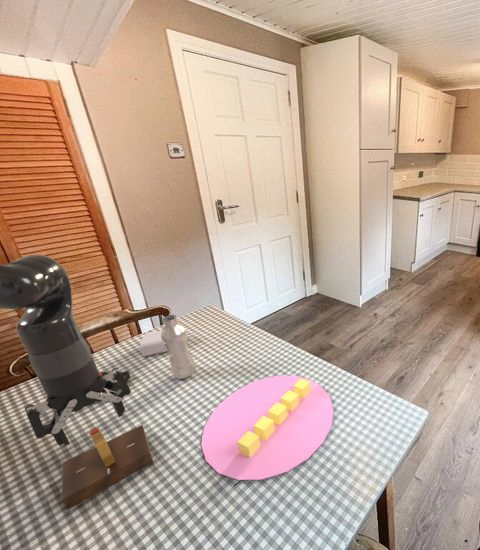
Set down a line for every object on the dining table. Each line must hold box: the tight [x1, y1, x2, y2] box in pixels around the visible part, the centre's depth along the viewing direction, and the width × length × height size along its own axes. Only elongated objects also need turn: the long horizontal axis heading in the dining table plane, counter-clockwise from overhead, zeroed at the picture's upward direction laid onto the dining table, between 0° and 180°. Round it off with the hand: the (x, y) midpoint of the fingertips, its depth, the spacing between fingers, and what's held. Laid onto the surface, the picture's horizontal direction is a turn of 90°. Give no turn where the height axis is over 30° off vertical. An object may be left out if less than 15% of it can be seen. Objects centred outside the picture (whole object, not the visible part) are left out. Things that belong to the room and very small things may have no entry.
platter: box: [200, 375, 334, 481], centre depth 77 cm, size 32×32×3 cm
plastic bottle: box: [161, 314, 197, 380], centre depth 89 cm, size 6×7×20 cm
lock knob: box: [89, 427, 115, 467], centre depth 63 cm, size 6×2×6 cm, turn 52°
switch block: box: [96, 370, 131, 402], centre depth 86 cm, size 12×9×4 cm
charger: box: [139, 329, 194, 358], centre depth 106 cm, size 5×9×15 cm
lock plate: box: [61, 424, 155, 510], centre depth 65 cm, size 14×10×3 cm
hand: (94, 427), depth 62 cm, fingers open, 8 cm apart
